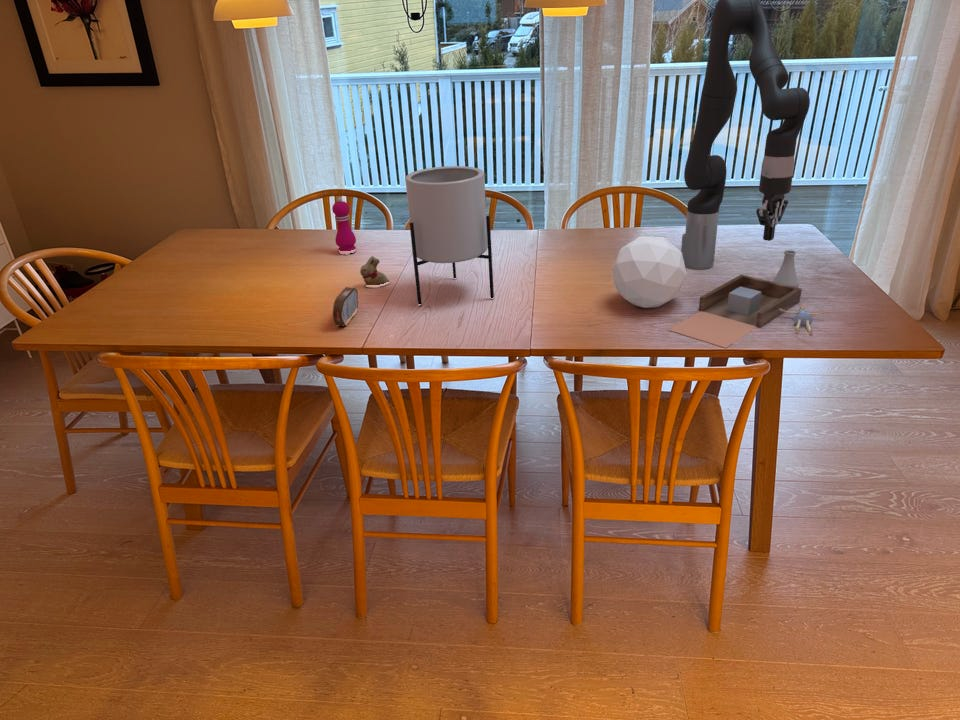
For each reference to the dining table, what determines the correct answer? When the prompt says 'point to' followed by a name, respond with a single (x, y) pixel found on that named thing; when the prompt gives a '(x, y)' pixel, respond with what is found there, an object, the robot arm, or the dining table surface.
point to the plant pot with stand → (448, 217)
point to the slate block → (744, 301)
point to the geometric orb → (649, 271)
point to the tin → (345, 305)
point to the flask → (787, 270)
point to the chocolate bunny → (372, 273)
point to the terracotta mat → (713, 329)
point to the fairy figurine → (803, 318)
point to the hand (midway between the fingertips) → (768, 239)
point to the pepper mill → (343, 226)
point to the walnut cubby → (769, 303)
